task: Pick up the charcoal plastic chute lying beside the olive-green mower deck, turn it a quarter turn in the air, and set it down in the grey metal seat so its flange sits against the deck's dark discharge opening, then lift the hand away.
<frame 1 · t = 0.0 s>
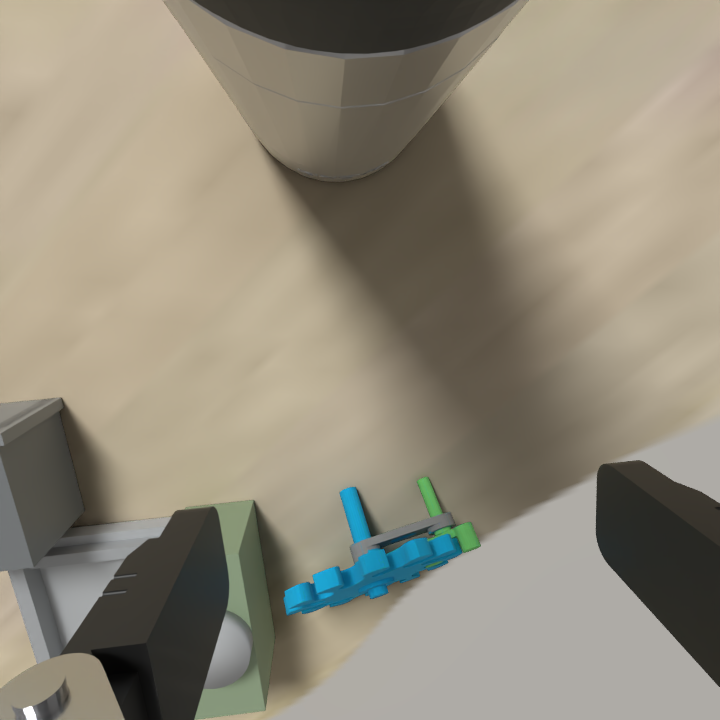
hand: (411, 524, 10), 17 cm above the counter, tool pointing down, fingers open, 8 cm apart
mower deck: (126, 587, 29), on the counter
chute: (31, 460, 27), on the counter
gear: (375, 528, 30), on the counter
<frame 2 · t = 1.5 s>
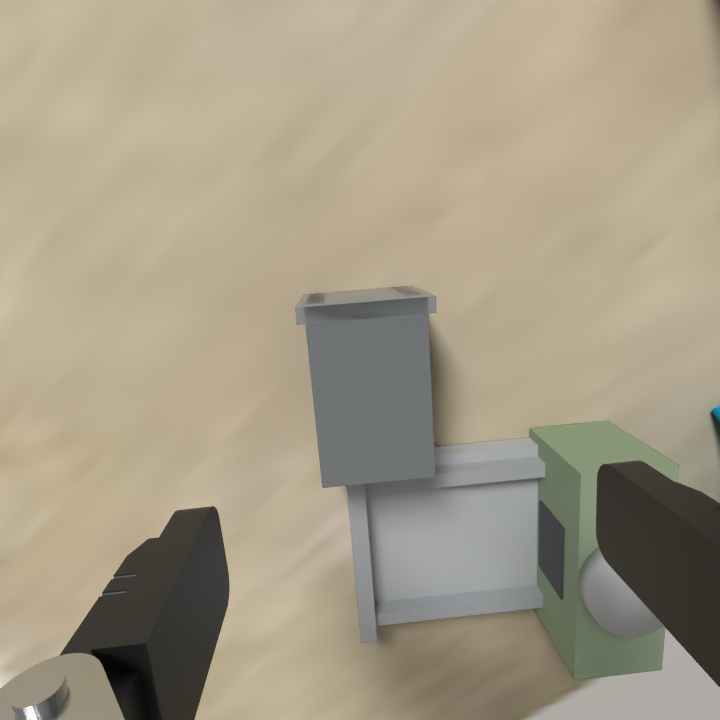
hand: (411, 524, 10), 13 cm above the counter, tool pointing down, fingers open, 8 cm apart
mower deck: (444, 526, 25), on the counter
chute: (363, 364, 22), on the counter
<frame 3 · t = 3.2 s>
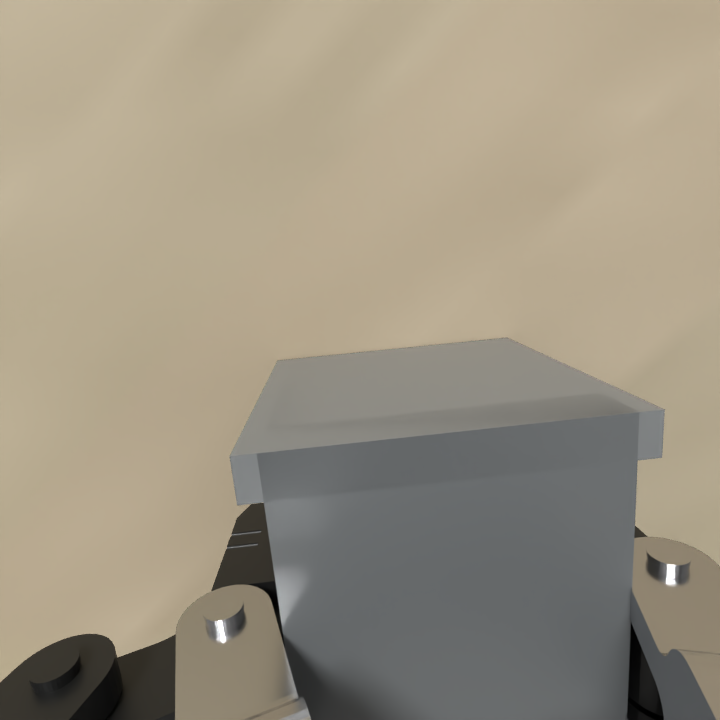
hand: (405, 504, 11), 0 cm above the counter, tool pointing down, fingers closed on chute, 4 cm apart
chute: (404, 496, 11), on the counter, touching gripper
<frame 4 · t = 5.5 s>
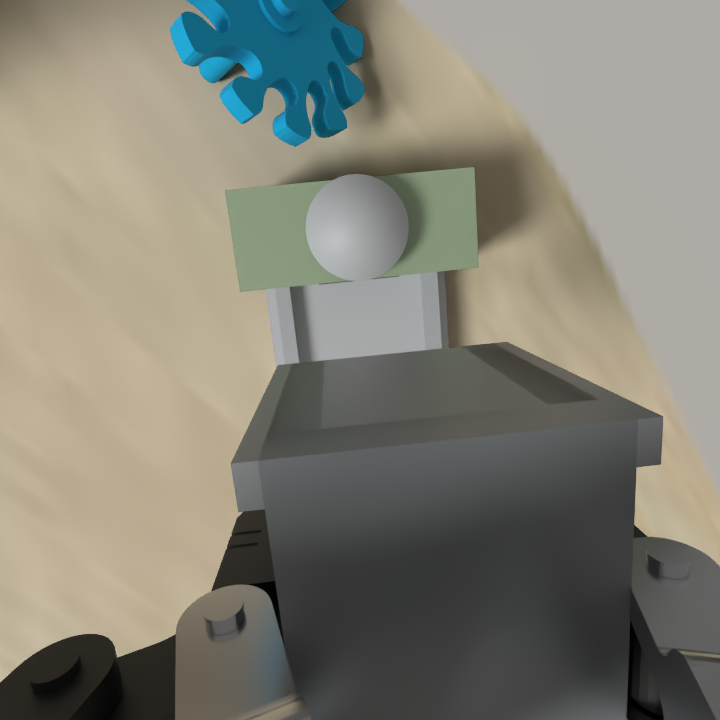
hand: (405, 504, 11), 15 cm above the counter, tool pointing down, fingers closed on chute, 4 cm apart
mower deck: (362, 359, 26), on the counter
chute: (404, 500, 11), point 15 cm above the counter, touching gripper
gear: (277, 42, 22), on the counter
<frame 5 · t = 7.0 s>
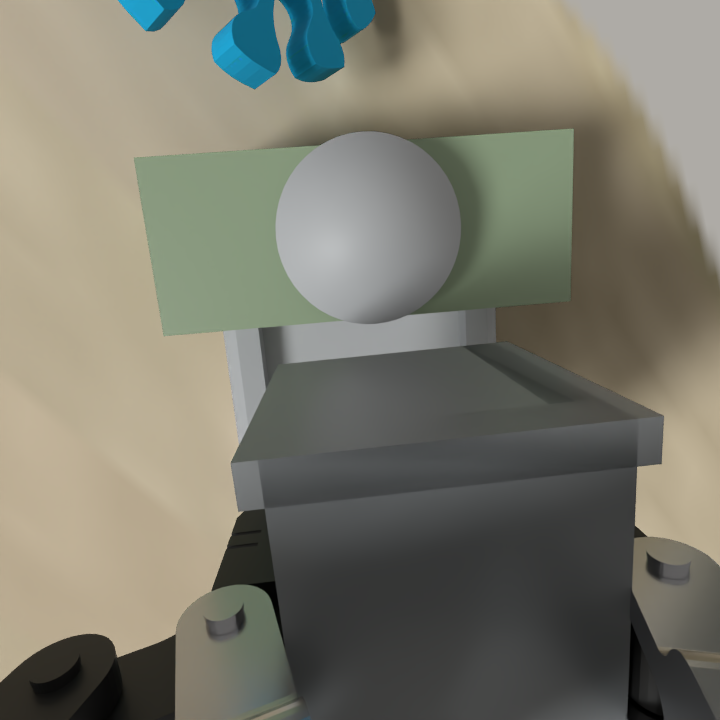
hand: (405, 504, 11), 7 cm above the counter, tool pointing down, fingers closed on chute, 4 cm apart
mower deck: (367, 422, 17), on the counter
chute: (404, 499, 11), point 7 cm above the counter, touching gripper
when the fingers open (3 cm above the counter, at t = 8.2 s): chute drops 1 cm, resting on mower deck.
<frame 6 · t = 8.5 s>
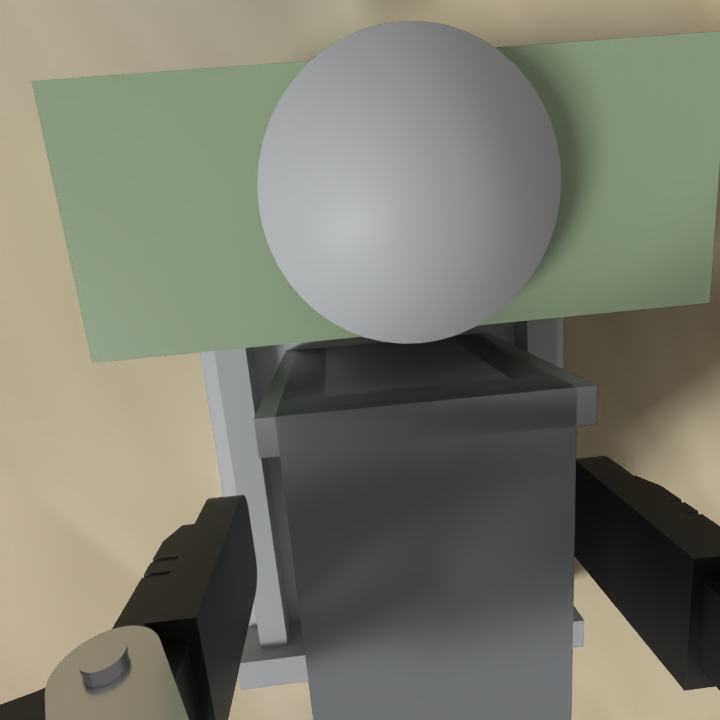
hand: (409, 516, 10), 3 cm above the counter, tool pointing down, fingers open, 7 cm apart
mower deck: (390, 461, 13), on the counter
chute: (396, 472, 12), point 1 cm above the counter, touching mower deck
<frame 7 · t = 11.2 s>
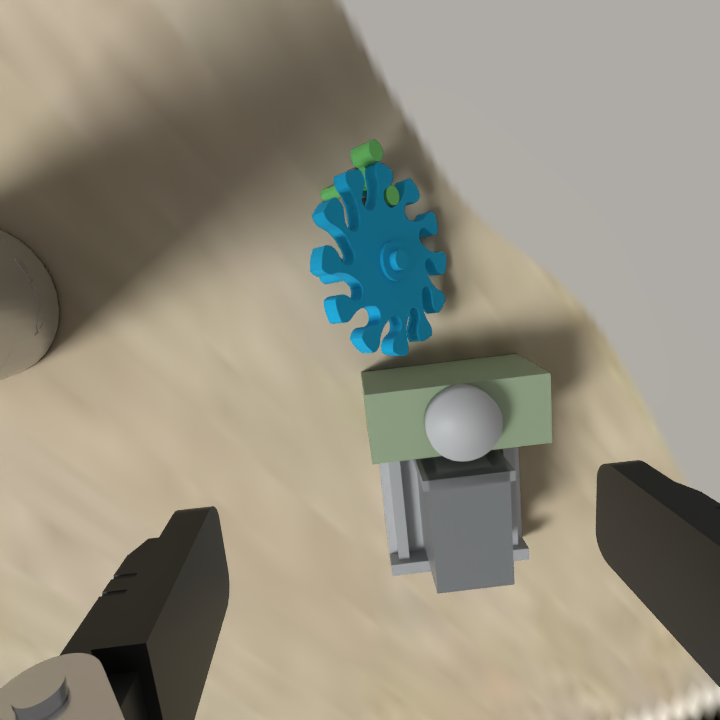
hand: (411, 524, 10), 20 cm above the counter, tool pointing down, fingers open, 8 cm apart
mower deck: (448, 484, 32), on the counter
chute: (452, 490, 31), point 1 cm above the counter, touching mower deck
gear: (378, 252, 29), on the counter
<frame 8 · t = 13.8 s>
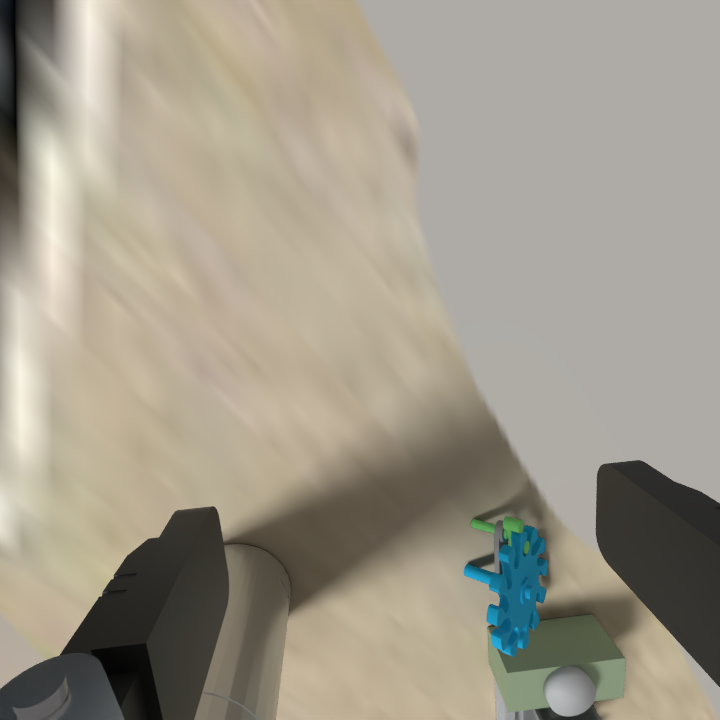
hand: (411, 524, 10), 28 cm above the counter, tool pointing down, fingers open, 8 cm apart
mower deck: (540, 695, 46), on the counter
chute: (545, 703, 45), point 1 cm above the counter, touching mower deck
gear: (501, 553, 43), on the counter
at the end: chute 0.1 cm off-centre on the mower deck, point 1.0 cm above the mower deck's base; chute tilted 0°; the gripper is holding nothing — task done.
